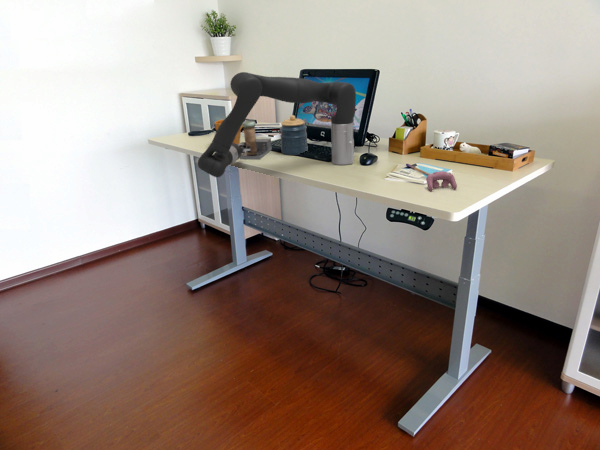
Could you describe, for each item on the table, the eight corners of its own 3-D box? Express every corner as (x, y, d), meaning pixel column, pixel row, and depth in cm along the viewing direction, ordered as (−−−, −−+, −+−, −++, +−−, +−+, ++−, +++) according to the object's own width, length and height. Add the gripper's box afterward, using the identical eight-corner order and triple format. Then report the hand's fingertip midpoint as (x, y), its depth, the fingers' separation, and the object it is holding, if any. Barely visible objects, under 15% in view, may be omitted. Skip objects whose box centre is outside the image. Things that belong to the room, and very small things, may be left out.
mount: (271, 149, 208) (270, 138, 206) (260, 159, 192) (258, 147, 190) (253, 149, 210) (252, 138, 208) (240, 159, 195) (238, 147, 192)
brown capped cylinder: (259, 152, 197) (257, 121, 191) (255, 155, 192) (252, 123, 186) (248, 152, 199) (244, 121, 193) (243, 155, 193) (240, 123, 187)
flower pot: (247, 142, 226) (244, 118, 220) (241, 148, 213) (238, 123, 208) (222, 143, 227) (218, 119, 222) (214, 149, 215) (211, 124, 209)
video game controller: (453, 191, 146) (451, 171, 147) (458, 189, 142) (456, 169, 142) (425, 192, 146) (424, 173, 146) (429, 191, 142) (428, 171, 142)
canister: (313, 151, 201) (312, 114, 194) (295, 157, 193) (292, 118, 186) (294, 147, 210) (292, 112, 202) (275, 153, 201) (273, 116, 194)
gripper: (243, 145, 168) (257, 136, 183) (213, 144, 171) (230, 135, 186) (245, 163, 171) (259, 152, 186) (215, 162, 174) (231, 152, 190)
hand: (244, 144), depth 186 cm, fingers closed
